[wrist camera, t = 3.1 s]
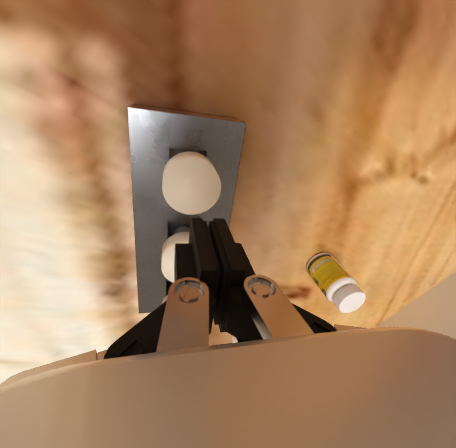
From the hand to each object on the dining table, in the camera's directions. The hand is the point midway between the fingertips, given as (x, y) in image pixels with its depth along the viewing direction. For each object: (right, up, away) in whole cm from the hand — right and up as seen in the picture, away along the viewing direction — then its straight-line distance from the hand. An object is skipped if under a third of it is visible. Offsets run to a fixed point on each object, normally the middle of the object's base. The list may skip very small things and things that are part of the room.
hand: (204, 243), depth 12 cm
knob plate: (-5, +2, +17) cm, 18 cm away
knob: (-3, +6, +11) cm, 13 cm away
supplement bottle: (+16, -5, +27) cm, 32 cm away
